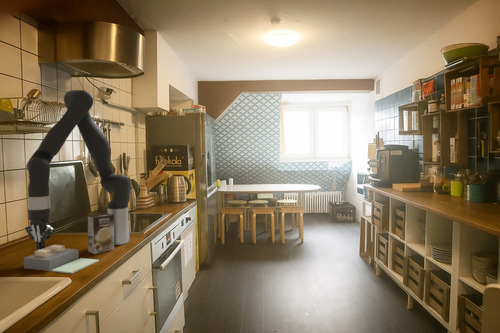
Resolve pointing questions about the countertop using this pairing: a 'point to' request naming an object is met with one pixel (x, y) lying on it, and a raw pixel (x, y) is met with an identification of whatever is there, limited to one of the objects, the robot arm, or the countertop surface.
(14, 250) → the countertop surface
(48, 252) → the tile
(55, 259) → the grey flat block
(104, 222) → the coffee box
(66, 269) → the mat
